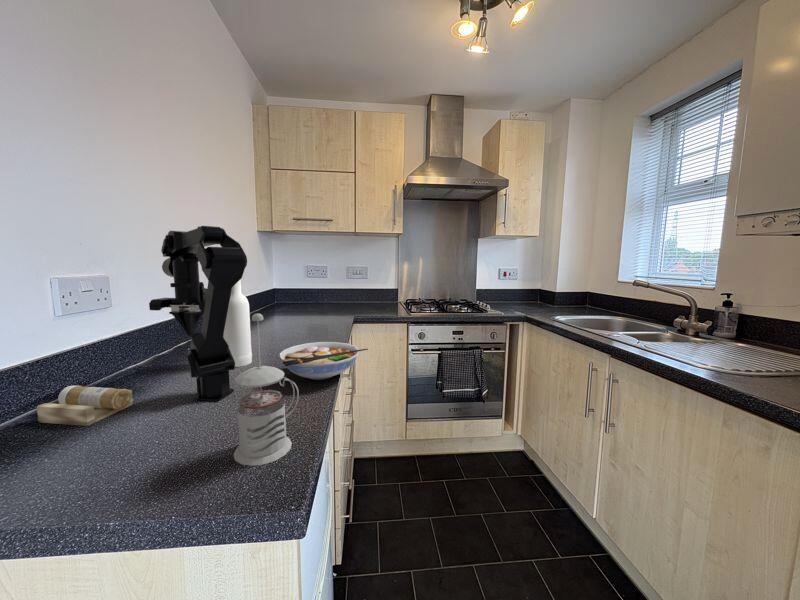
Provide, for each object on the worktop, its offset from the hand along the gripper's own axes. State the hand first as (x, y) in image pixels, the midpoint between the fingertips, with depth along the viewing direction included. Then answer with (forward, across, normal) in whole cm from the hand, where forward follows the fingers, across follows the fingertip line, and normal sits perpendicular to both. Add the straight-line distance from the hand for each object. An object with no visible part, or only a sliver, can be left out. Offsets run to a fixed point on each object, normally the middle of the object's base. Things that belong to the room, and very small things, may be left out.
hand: (190, 335), depth 88 cm
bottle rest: (+13, +9, +20) cm, 26 cm away
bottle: (+13, -3, -16) cm, 21 cm away
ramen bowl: (+13, -33, -9) cm, 37 cm away
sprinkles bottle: (+10, +2, +19) cm, 21 cm away
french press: (+13, -36, +27) cm, 47 cm away
